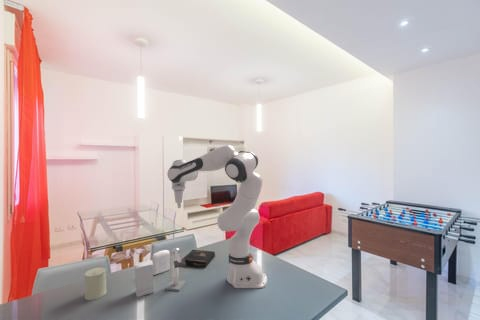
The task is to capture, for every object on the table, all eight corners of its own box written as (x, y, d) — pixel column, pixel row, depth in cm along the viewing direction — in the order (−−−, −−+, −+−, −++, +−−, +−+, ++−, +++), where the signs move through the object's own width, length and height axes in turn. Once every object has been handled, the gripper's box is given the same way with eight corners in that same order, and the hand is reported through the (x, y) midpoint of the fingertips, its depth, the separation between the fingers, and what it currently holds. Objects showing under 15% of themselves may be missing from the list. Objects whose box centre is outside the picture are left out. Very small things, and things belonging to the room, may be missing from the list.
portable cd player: (215, 257, 156) (214, 251, 156) (205, 268, 139) (205, 262, 139) (193, 254, 159) (193, 249, 159) (181, 265, 143) (181, 259, 143)
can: (83, 302, 106) (83, 277, 106) (86, 292, 114) (85, 268, 114) (105, 296, 110) (105, 272, 110) (107, 287, 118) (106, 264, 118)
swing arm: (170, 251, 120) (170, 247, 120) (179, 250, 122) (179, 246, 122) (174, 269, 100) (174, 264, 100) (186, 267, 102) (186, 262, 102)
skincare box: (152, 287, 118) (152, 259, 118) (153, 293, 113) (153, 263, 113) (135, 291, 114) (135, 262, 114) (135, 298, 109) (135, 267, 109)
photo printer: (167, 267, 140) (167, 247, 140) (170, 269, 137) (170, 249, 137) (151, 273, 133) (151, 252, 133) (154, 276, 130) (154, 254, 130)
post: (185, 282, 122) (185, 250, 122) (179, 291, 114) (179, 257, 114) (172, 281, 124) (172, 249, 124) (164, 289, 116) (164, 255, 116)
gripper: (174, 184, 151) (174, 204, 151) (172, 187, 131) (173, 211, 131) (184, 183, 152) (184, 204, 152) (184, 187, 132) (184, 210, 132)
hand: (179, 207), depth 141 cm, fingers closed
